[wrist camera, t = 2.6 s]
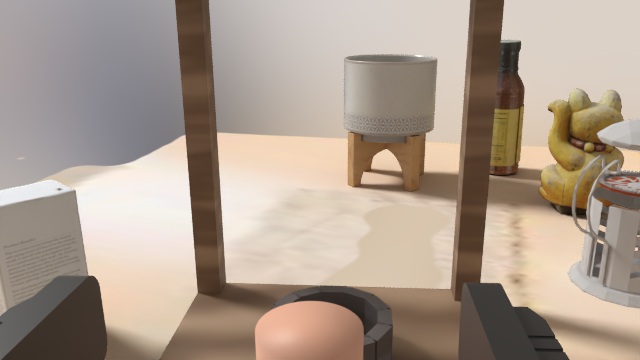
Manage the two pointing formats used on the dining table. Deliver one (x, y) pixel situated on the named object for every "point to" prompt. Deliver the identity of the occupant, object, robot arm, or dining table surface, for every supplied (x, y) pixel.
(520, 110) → the sauce bottle
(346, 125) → the planter
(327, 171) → the dining table surface
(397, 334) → the slanted top stand
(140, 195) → the dining table surface
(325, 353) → the peg
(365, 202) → the dining table surface
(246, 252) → the dining table surface
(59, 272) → the skincare box
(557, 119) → the decorative figurine
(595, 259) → the french press
